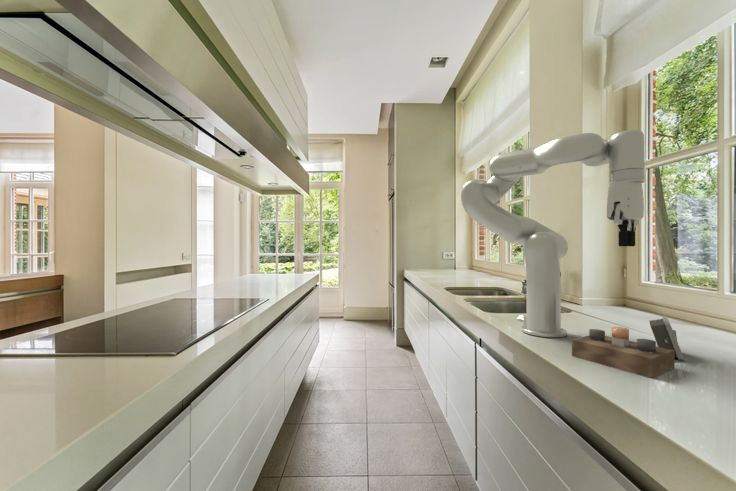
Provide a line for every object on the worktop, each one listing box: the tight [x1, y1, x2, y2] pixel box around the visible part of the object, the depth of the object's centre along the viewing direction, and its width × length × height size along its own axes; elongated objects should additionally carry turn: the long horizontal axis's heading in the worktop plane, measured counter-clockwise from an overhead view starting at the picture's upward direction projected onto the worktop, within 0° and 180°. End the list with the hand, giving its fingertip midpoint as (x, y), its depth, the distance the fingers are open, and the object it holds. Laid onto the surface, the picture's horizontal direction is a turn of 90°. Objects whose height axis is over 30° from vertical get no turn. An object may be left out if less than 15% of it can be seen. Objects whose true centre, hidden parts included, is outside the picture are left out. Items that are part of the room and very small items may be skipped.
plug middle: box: [611, 326, 630, 347], centre depth 78 cm, size 3×3×6 cm
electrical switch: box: [648, 315, 684, 361], centre depth 83 cm, size 9×5×9 cm, turn 141°
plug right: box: [636, 338, 657, 354], centre depth 73 cm, size 3×3×6 cm
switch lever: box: [588, 328, 606, 342], centre depth 82 cm, size 3×3×6 cm
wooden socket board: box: [571, 335, 676, 379], centre depth 78 cm, size 16×11×4 cm
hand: (626, 246), depth 89 cm, fingers closed
